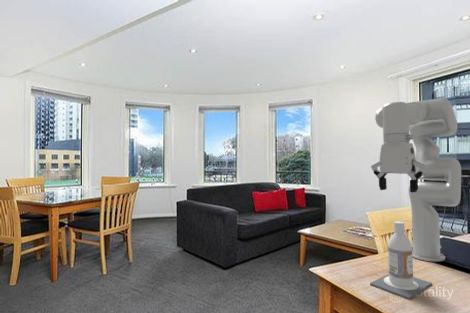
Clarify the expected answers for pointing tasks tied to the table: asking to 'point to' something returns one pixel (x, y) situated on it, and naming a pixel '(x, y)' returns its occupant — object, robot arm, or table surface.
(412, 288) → the rubber mat
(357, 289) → the table surface
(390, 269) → the bath foam
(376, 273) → the table surface
